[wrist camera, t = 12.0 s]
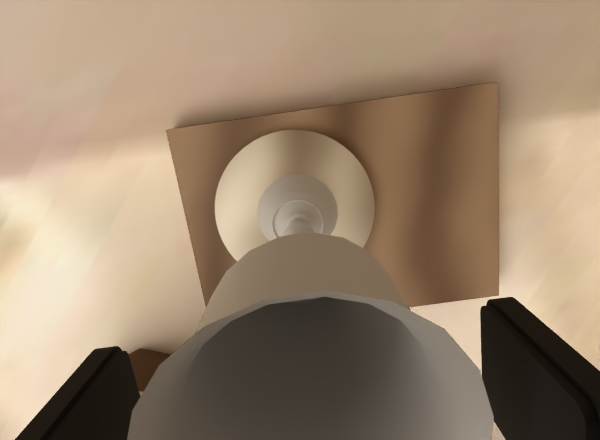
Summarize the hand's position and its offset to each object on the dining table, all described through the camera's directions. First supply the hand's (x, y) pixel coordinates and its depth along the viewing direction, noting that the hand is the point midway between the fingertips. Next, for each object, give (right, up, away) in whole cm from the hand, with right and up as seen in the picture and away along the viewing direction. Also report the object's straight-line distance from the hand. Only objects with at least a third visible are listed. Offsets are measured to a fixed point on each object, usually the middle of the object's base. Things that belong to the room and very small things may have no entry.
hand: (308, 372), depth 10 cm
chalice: (0, +4, +15) cm, 15 cm away
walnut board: (+2, +4, +17) cm, 17 cm away
